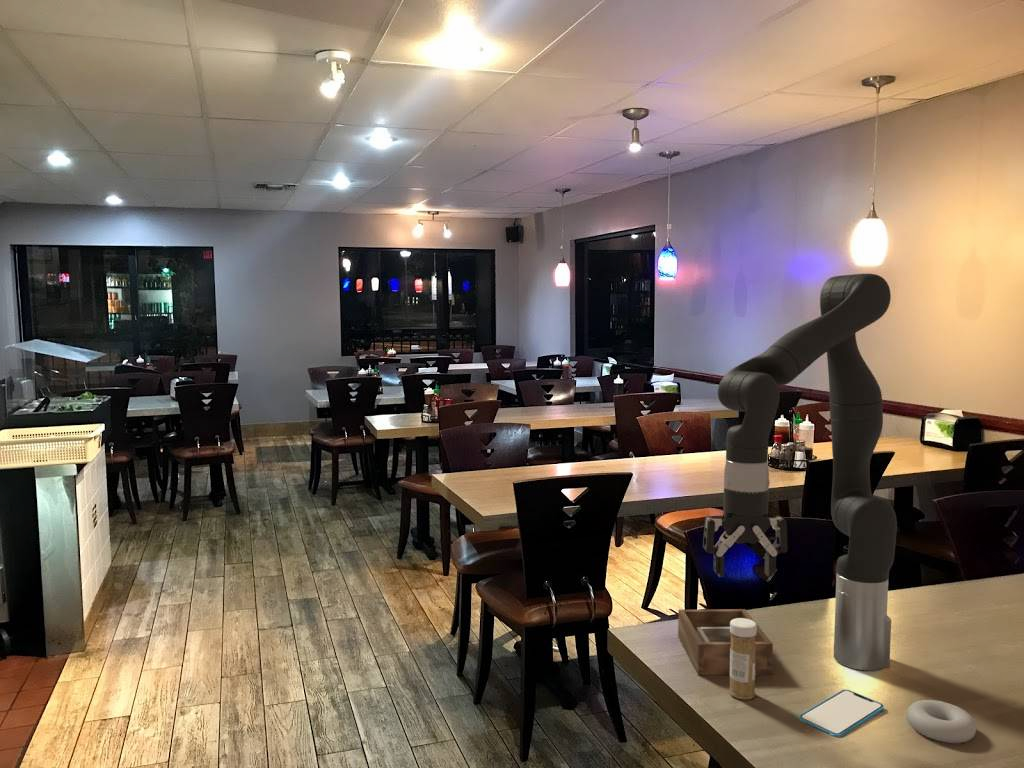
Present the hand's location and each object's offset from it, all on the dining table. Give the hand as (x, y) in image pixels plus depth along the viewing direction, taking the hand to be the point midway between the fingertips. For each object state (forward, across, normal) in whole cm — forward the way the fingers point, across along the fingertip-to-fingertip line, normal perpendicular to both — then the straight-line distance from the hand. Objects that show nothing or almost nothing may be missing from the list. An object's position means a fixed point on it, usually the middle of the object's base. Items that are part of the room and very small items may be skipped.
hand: (744, 575), depth 136 cm
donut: (+22, -29, +12) cm, 39 cm away
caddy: (+22, -1, -16) cm, 27 cm away
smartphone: (+23, -15, +7) cm, 28 cm away
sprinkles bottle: (+22, 0, 0) cm, 22 cm away
